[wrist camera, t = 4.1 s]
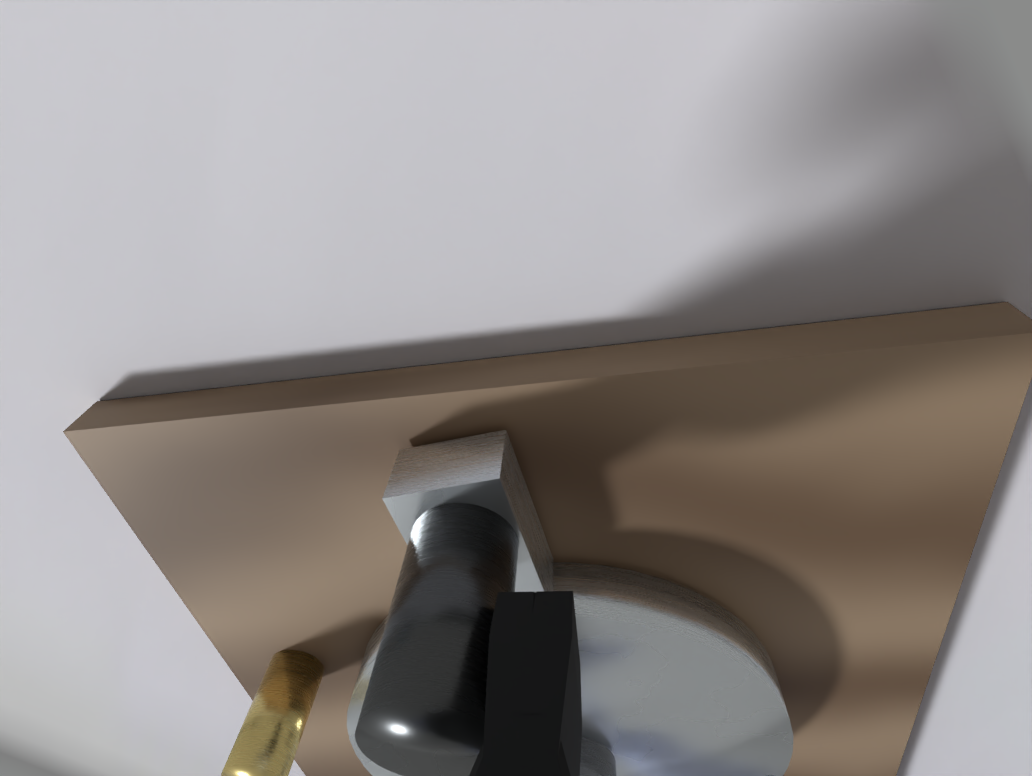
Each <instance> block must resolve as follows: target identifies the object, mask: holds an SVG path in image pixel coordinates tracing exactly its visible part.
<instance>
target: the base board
mask: <svg viewBox="0 0 1032 776" xmlns="http://www.w3.org/2000/svg"><path fill="white" fill-rule="evenodd" d="M1031 378H1032V320H1031V319H1030V318H1029V317H1027V316H1026V315H1025V314H1023V313H1022V312H1020V311H1019V310H1018V309H1016V308H1015V307H1014V306H1012V305H1011V304H1009V303H1008V302H1002V303H993V304H984V305H975V306H965V307H956V308H947V309H938V310H929V311H920V312H911V313H901V314H892V315H883V316H874V317H865V318H856V319H847V320H837V321H828V322H819V323H810V324H801V325H792V326H783V327H773V328H764V329H755V330H746V331H737V332H728V333H719V334H709V335H700V336H691V337H682V338H673V339H664V340H655V341H645V342H636V343H627V344H618V345H609V346H600V347H590V348H581V349H572V350H563V351H554V352H545V353H536V354H526V355H517V356H508V357H499V358H490V359H481V360H472V361H462V362H453V363H444V364H435V365H426V366H417V367H408V368H398V369H389V370H380V371H371V372H362V373H353V374H344V375H334V376H325V377H316V378H307V379H298V380H289V381H280V382H270V383H261V384H252V385H243V386H234V387H225V388H216V389H206V390H197V391H188V392H179V393H170V394H161V395H151V396H142V397H133V398H124V399H115V400H106V401H97V402H96V403H95V404H93V405H92V406H91V407H90V408H89V409H88V410H87V411H86V412H85V413H83V414H82V415H81V416H80V417H79V418H78V419H77V420H76V421H75V422H73V423H72V424H71V425H70V426H69V427H68V428H67V429H66V430H64V431H63V432H64V434H65V435H66V437H67V438H68V439H69V441H70V442H71V444H72V445H73V446H74V448H75V449H76V451H77V452H78V454H79V455H80V456H81V458H82V459H83V461H84V462H85V463H86V465H87V466H88V468H89V469H90V471H91V472H92V473H93V475H94V476H95V478H96V479H97V480H98V482H99V483H100V485H101V486H102V488H103V489H104V490H105V492H106V493H107V495H108V496H109V497H110V499H111V500H112V502H113V503H114V505H115V506H116V507H117V509H118V510H119V512H120V513H121V514H122V516H123V517H124V519H125V520H126V522H127V523H128V524H129V526H130V527H131V529H132V530H133V531H134V533H135V534H136V536H137V537H138V539H139V540H140V541H141V543H142V544H143V546H144V547H145V548H146V550H147V551H148V553H149V554H150V556H151V557H152V558H153V560H154V561H155V563H156V564H157V565H158V567H159V568H160V570H161V571H162V573H163V574H164V575H165V577H166V578H167V580H168V581H169V582H170V584H171V585H172V587H173V588H174V590H175V591H176V592H177V594H178V595H179V597H180V598H181V599H182V601H183V602H184V604H185V605H186V607H187V608H188V609H189V611H190V612H191V614H192V615H193V616H194V618H195V619H196V621H197V622H198V624H199V625H200V626H201V628H202V629H203V631H204V632H205V633H206V635H207V636H208V638H209V639H210V641H211V642H212V643H213V645H214V646H215V648H216V649H217V650H218V652H219V653H220V655H221V656H222V658H223V659H224V660H225V662H226V663H227V665H228V666H229V667H230V669H231V670H232V672H233V673H234V675H235V676H236V677H237V679H238V680H239V682H240V683H241V684H242V686H243V687H244V689H245V690H246V692H247V693H248V694H249V696H250V697H251V699H252V700H254V698H255V695H256V693H257V691H258V688H259V686H260V684H261V682H262V679H263V677H264V675H265V672H266V670H267V668H268V665H269V663H270V661H271V659H272V656H273V655H274V654H275V653H277V652H279V651H283V650H298V651H302V652H306V653H308V654H310V655H312V656H314V657H316V658H317V659H318V660H319V661H320V662H321V663H322V664H323V666H324V674H323V677H322V680H321V683H320V686H319V689H318V691H317V694H316V697H315V700H314V703H313V706H312V709H311V711H310V714H309V717H308V720H307V723H306V726H305V729H304V731H303V734H302V737H301V740H300V743H299V746H298V749H297V751H296V754H295V757H294V760H295V761H296V762H297V764H298V765H299V767H300V768H301V769H302V771H303V772H304V774H305V775H306V776H372V775H371V774H370V773H369V772H368V771H367V769H366V768H365V767H364V766H363V764H362V763H361V761H360V760H359V758H358V757H357V755H356V754H355V751H354V749H353V747H352V745H351V742H350V740H349V735H348V730H347V710H348V707H349V704H350V700H351V697H352V694H353V690H354V687H355V684H356V680H357V677H358V674H359V670H360V667H361V664H362V660H363V657H364V654H365V651H366V647H367V644H368V642H369V641H370V639H371V637H372V635H373V634H374V632H375V630H376V629H377V627H378V626H379V625H380V624H381V623H382V622H383V621H384V619H385V618H386V617H387V616H388V613H389V609H390V606H391V602H392V599H393V595H394V592H395V588H396V585H397V581H398V577H399V574H400V570H401V567H402V563H403V560H404V556H405V552H406V549H407V544H406V542H405V540H404V538H403V536H402V534H401V533H400V531H399V529H398V527H397V525H396V523H395V522H394V520H393V518H392V516H391V514H390V512H389V510H388V509H387V507H386V505H385V503H384V501H383V499H382V498H383V495H384V492H385V489H386V487H387V484H388V481H389V478H390V475H391V472H392V470H393V467H394V464H395V461H396V458H397V456H398V453H399V450H402V449H407V448H412V447H418V446H423V445H428V444H433V443H439V442H444V441H449V440H454V439H460V438H465V437H470V436H475V435H481V434H486V433H491V432H497V431H502V430H506V431H507V434H508V437H509V439H510V442H511V445H512V447H513V450H514V453H515V456H516V458H517V461H518V464H519V466H520V469H521V472H522V475H523V477H524V480H525V483H526V486H527V488H528V491H529V494H530V496H531V499H532V502H533V505H534V507H535V510H536V513H537V515H538V518H539V521H540V524H541V526H542V529H543V532H544V535H545V537H546V540H547V543H548V545H549V548H550V551H551V554H552V556H553V562H571V563H583V564H594V565H604V566H610V567H616V568H621V569H627V570H633V571H637V572H640V573H644V574H648V575H651V576H655V577H659V578H662V579H665V580H668V581H671V582H673V583H676V584H678V585H681V586H684V587H686V588H689V589H691V590H693V591H695V592H697V593H699V594H701V595H703V596H705V597H707V598H709V599H711V600H713V601H715V602H716V603H718V604H719V605H721V606H722V607H724V608H725V609H726V610H728V611H729V612H731V613H732V614H734V615H735V616H736V617H738V618H739V619H740V620H741V621H742V622H743V623H744V624H745V625H746V626H747V627H748V628H749V629H750V630H751V631H753V633H754V634H755V635H756V637H757V638H758V639H759V641H760V642H761V643H762V645H763V646H764V647H765V649H766V651H767V653H768V655H769V657H770V659H771V661H772V663H773V666H774V669H775V673H776V676H777V679H778V683H779V686H780V689H781V692H782V696H783V699H784V702H785V706H786V709H787V712H788V716H789V719H790V723H791V727H792V732H793V736H794V737H793V753H792V756H791V759H790V763H789V766H788V768H787V770H786V771H785V773H784V775H783V776H896V774H897V771H898V768H899V765H900V762H901V760H902V757H903V754H904V751H905V748H906V745H907V742H908V739H909V736H910V733H911V730H912V727H913V724H914V721H915V718H916V716H917V713H918V710H919V707H920V704H921V701H922V698H923V695H924V692H925V689H926V686H927V683H928V680H929V677H930V675H931V672H932V669H933V666H934V663H935V660H936V657H937V654H938V651H939V648H940V645H941V642H942V639H943V636H944V633H945V631H946V628H947V625H948V622H949V619H950V616H951V613H952V610H953V607H954V604H955V601H956V598H957V595H958V592H959V589H960V587H961V584H962V581H963V578H964V575H965V572H966V569H967V566H968V563H969V560H970V557H971V554H972V551H973V548H974V545H975V543H976V540H977V537H978V534H979V531H980V528H981V525H982V522H983V519H984V516H985V513H986V510H987V507H988V504H989V501H990V499H991V496H992V493H993V490H994V487H995V484H996V481H997V478H998V475H999V472H1000V469H1001V466H1002V463H1003V460H1004V457H1005V455H1006V452H1007V449H1008V446H1009V443H1010V440H1011V437H1012V434H1013V431H1014V428H1015V425H1016V422H1017V419H1018V416H1019V413H1020V411H1021V408H1022V405H1023V402H1024V399H1025V396H1026V393H1027V390H1028V387H1029V384H1030V381H1031Z"/></svg>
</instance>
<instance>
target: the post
mask: <svg viewBox="0 0 1032 776" xmlns="http://www.w3.org/2000/svg"><path fill="white" fill-rule="evenodd" d="M580 776H616V761H615V757H614V755H613V754H612V752H611V751H610V750H609V749H608V748H607V747H605V746H604V745H602V744H600V743H598V742H596V741H594V740H591V739H588V738H585V737H582V741H581V759H580Z"/></svg>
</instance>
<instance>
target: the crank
mask: <svg viewBox="0 0 1032 776" xmlns="http://www.w3.org/2000/svg"><path fill="white" fill-rule="evenodd" d="M382 499H383V501H384V503H385V505H386V507H387V509H388V510H389V512H390V514H391V516H392V518H393V520H394V522H395V523H396V525H397V527H398V529H399V531H400V533H401V534H402V536H403V538H404V540H405V542H406V544H407V549H406V552H405V556H404V560H403V563H402V567H401V570H400V574H399V577H398V581H397V585H396V588H395V592H394V595H393V599H392V602H391V606H390V609H389V613H388V616H387V617H386V618H385V619H384V621H383V622H382V623H381V624H380V625H379V626H378V627H377V629H376V630H375V632H374V634H373V635H372V637H371V639H370V641H369V642H368V644H367V647H366V651H365V654H364V657H363V660H362V664H361V667H360V670H359V674H358V677H357V680H356V684H355V687H354V690H353V694H352V697H351V700H350V704H349V707H348V710H347V730H348V735H349V740H350V742H351V745H352V747H353V749H354V751H355V754H356V755H357V757H358V758H359V760H360V761H361V763H362V764H363V766H364V767H365V768H366V769H367V771H368V772H369V773H370V774H371V775H372V776H469V775H470V772H471V770H472V768H473V765H474V763H475V761H476V758H477V756H478V754H479V751H480V749H481V747H482V745H483V742H484V724H485V704H486V685H487V666H488V647H489V634H490V629H491V623H492V618H493V613H494V608H495V604H496V599H497V594H498V592H535V593H536V592H537V591H573V596H574V606H575V616H576V626H577V636H578V646H579V656H580V670H581V702H582V737H585V738H588V739H591V740H594V741H596V742H598V743H600V744H602V745H604V746H605V747H607V748H608V749H609V750H610V751H611V752H612V754H613V755H614V757H615V761H616V776H783V775H784V773H785V771H786V770H787V768H788V766H789V763H790V759H791V756H792V753H793V737H794V736H793V732H792V727H791V723H790V719H789V716H788V712H787V709H786V706H785V702H784V699H783V696H782V692H781V689H780V686H779V683H778V679H777V676H776V673H775V669H774V666H773V663H772V661H771V659H770V657H769V655H768V653H767V651H766V649H765V647H764V646H763V645H762V643H761V642H760V641H759V639H758V638H757V637H756V635H755V634H754V633H753V631H751V630H750V629H749V628H748V627H747V626H746V625H745V624H744V623H743V622H742V621H741V620H740V619H739V618H738V617H736V616H735V615H734V614H732V613H731V612H729V611H728V610H726V609H725V608H724V607H722V606H721V605H719V604H718V603H716V602H715V601H713V600H711V599H709V598H707V597H705V596H703V595H701V594H699V593H697V592H695V591H693V590H691V589H689V588H686V587H684V586H681V585H678V584H676V583H673V582H671V581H668V580H665V579H662V578H659V577H655V576H651V575H648V574H644V573H640V572H637V571H633V570H627V569H621V568H616V567H610V566H604V565H594V564H583V563H571V562H553V556H552V554H551V551H550V548H549V545H548V543H547V540H546V537H545V535H544V532H543V529H542V526H541V524H540V521H539V518H538V515H537V513H536V510H535V507H534V505H533V502H532V499H531V496H530V494H529V491H528V488H527V486H526V483H525V480H524V477H523V475H522V472H521V469H520V466H519V464H518V461H517V458H516V456H515V453H514V450H513V447H512V445H511V442H510V439H509V437H508V434H507V431H506V430H502V431H497V432H491V433H486V434H481V435H475V436H470V437H465V438H460V439H454V440H449V441H444V442H439V443H433V444H428V445H423V446H418V447H412V448H407V449H402V450H399V453H398V456H397V458H396V461H395V464H394V467H393V470H392V472H391V475H390V478H389V481H388V484H387V487H386V489H385V492H384V495H383V498H382Z"/></svg>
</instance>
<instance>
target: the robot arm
mask: <svg viewBox="0 0 1032 776" xmlns="http://www.w3.org/2000/svg"><path fill="white" fill-rule="evenodd" d="M581 741H582V702H581V670H580V656H579V646H578V636H577V626H576V616H575V606H574V596H573V591H537V592H536V593H535V592H498V594H497V599H496V604H495V608H494V613H493V618H492V623H491V629H490V634H489V647H488V666H487V685H486V704H485V724H484V742H483V745H482V747H481V749H480V751H479V754H478V756H477V758H476V761H475V763H474V765H473V768H472V770H471V772H470V775H469V776H580V759H581Z"/></svg>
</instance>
